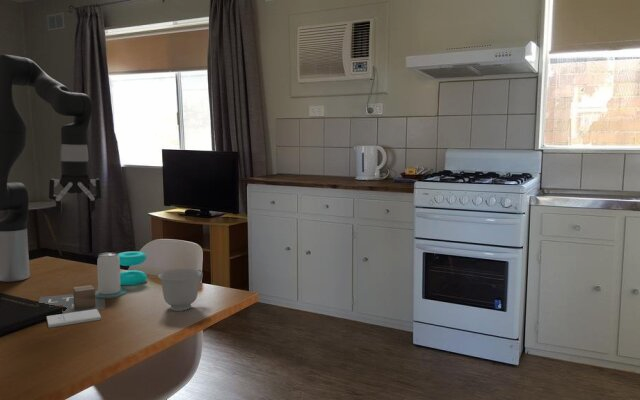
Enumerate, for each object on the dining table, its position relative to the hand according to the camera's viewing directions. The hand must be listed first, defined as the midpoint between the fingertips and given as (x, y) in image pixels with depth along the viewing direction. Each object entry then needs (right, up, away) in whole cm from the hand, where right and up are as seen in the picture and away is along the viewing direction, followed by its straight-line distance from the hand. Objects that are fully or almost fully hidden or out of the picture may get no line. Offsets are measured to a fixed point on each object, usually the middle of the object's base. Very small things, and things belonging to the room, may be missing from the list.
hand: (75, 212), depth 157 cm
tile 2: (+6, -27, -8) cm, 29 cm away
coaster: (+9, -25, +4) cm, 27 cm away
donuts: (+11, -24, +17) cm, 32 cm away
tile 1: (-3, -26, -4) cm, 27 cm away
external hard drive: (+9, -29, -20) cm, 36 cm away
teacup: (+35, -27, -8) cm, 45 cm away
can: (+9, -25, +4) cm, 27 cm away
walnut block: (+6, -26, -8) cm, 28 cm away
